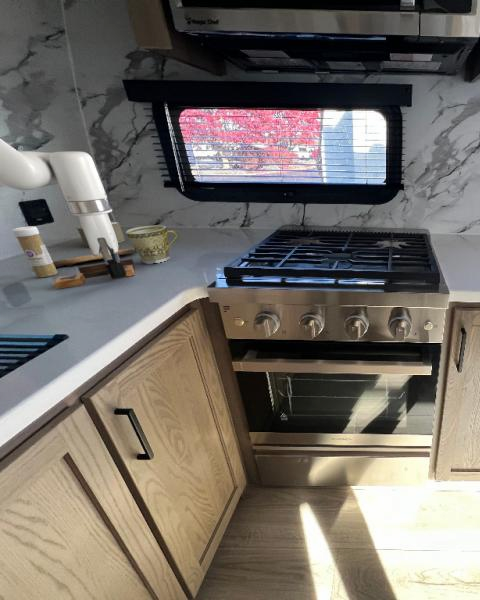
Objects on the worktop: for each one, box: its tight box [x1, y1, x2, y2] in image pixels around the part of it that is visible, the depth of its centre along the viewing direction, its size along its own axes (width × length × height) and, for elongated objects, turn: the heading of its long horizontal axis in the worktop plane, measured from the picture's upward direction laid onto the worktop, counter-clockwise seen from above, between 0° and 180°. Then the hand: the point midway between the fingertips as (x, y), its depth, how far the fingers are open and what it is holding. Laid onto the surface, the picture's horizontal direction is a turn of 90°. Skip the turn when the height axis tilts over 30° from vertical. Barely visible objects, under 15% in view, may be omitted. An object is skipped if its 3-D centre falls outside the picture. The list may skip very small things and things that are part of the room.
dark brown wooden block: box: [77, 258, 136, 279], centre depth 94 cm, size 12×3×3 cm, turn 126°
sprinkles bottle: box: [11, 225, 59, 278], centre depth 90 cm, size 5×5×13 cm
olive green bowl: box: [75, 220, 126, 249], centre depth 121 cm, size 12×12×7 cm
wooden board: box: [53, 247, 137, 268], centre depth 105 cm, size 25×10×1 cm, turn 128°
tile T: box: [53, 272, 86, 290], centre depth 87 cm, size 5×5×2 cm
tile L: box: [108, 265, 135, 280], centre depth 92 cm, size 5×5×2 cm
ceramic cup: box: [125, 224, 178, 265], centre depth 101 cm, size 13×10×10 cm
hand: (119, 276), depth 88 cm, fingers closed
